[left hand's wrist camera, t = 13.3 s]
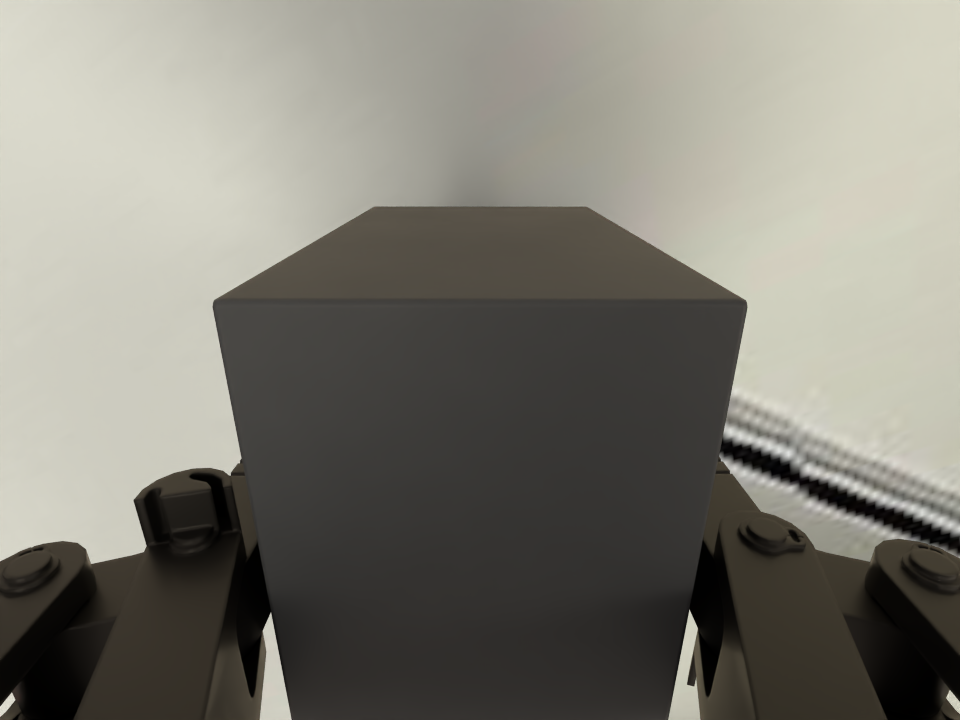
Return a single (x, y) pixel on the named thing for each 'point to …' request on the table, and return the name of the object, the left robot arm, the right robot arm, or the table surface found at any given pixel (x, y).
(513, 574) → the post
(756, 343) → the table surface
